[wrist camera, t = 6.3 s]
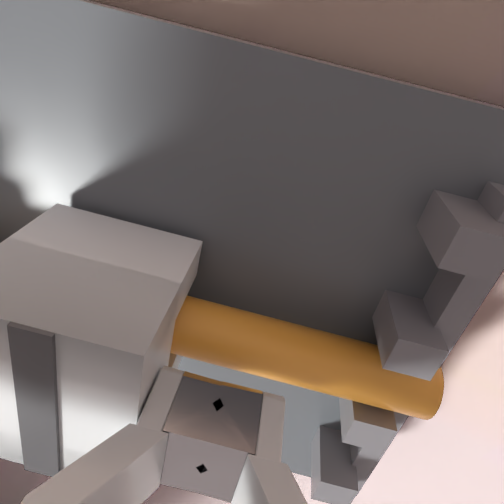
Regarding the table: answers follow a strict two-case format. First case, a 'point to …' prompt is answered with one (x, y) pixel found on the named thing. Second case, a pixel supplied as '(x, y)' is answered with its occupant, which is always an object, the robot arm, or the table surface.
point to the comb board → (269, 209)
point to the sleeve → (84, 330)
